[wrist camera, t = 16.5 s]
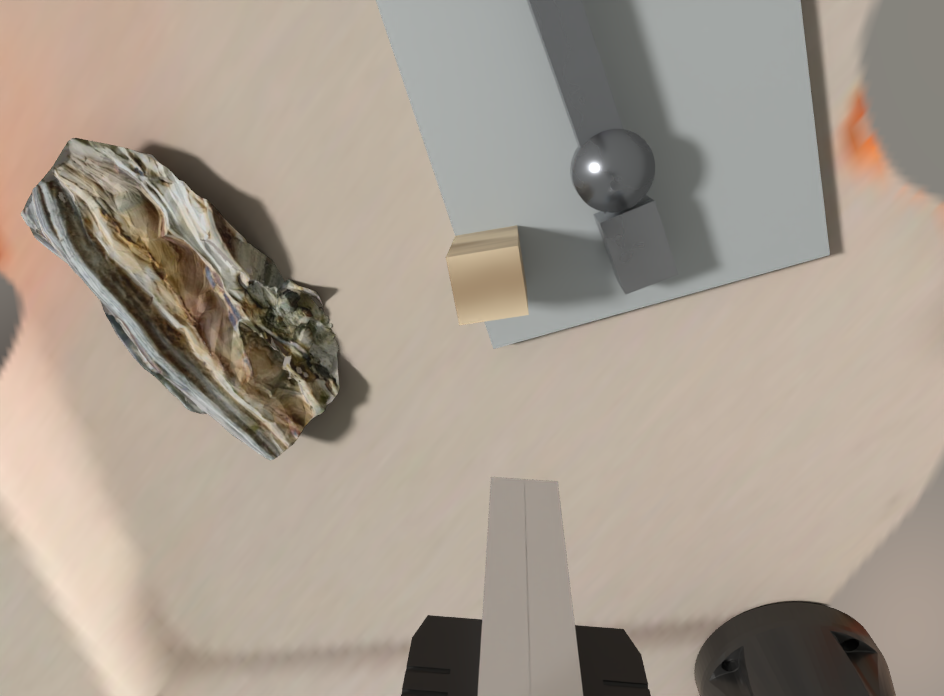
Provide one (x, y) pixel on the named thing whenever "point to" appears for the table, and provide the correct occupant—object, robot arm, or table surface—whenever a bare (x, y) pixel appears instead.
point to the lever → (604, 149)
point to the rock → (189, 293)
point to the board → (641, 111)
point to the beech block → (488, 275)
